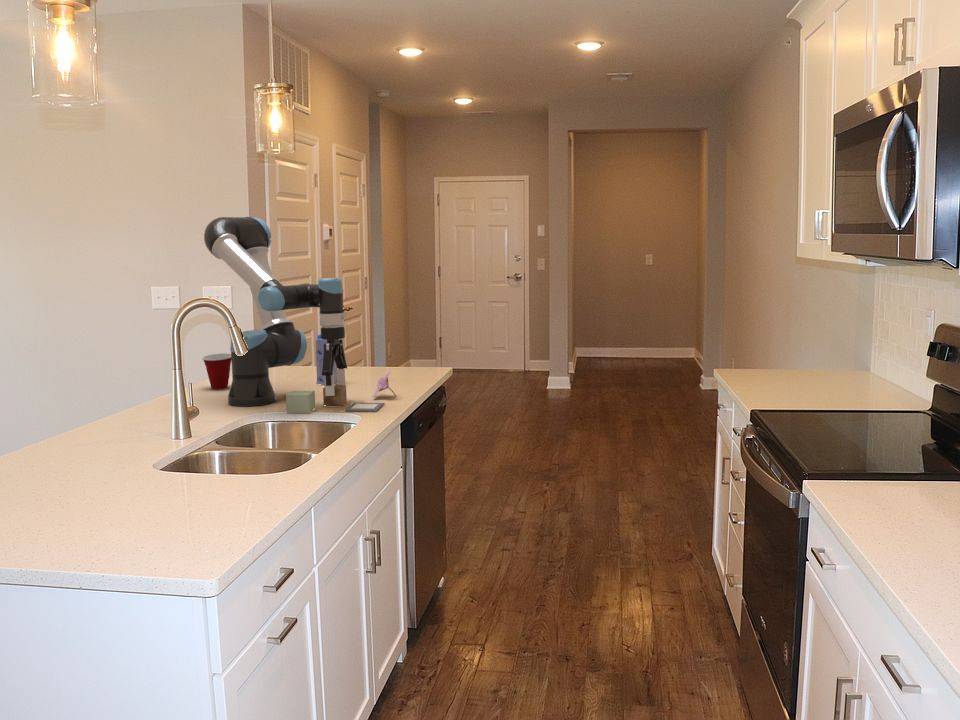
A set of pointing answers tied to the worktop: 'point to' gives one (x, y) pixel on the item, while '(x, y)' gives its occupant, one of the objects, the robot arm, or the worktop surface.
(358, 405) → the slate build plate
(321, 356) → the aerosol can
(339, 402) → the walnut block
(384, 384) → the lily
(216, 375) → the plastic cup
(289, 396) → the sage block
